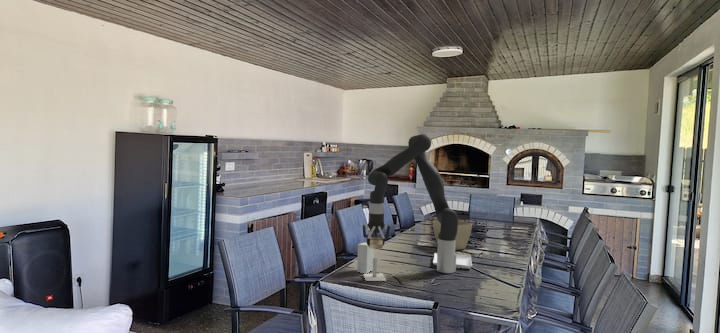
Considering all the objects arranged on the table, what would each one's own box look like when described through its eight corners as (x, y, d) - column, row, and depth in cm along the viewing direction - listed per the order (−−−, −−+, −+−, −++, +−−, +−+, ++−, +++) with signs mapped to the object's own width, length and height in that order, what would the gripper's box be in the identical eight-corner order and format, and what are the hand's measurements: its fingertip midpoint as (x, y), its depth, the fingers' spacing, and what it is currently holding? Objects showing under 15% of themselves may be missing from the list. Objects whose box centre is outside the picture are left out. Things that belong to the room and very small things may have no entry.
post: (382, 275, 220) (383, 256, 220) (386, 281, 210) (386, 261, 210) (363, 275, 219) (363, 256, 219) (365, 281, 209) (366, 261, 209)
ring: (380, 245, 217) (380, 237, 217) (382, 248, 211) (382, 240, 211) (368, 245, 217) (368, 237, 216) (370, 248, 211) (370, 240, 210)
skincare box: (366, 274, 221) (367, 245, 220) (356, 272, 224) (357, 244, 223) (374, 270, 228) (375, 242, 228) (364, 268, 231) (365, 241, 231)
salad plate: (472, 271, 233) (472, 265, 233) (432, 268, 237) (432, 261, 237) (470, 261, 254) (471, 255, 253) (434, 258, 258) (434, 252, 258)
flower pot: (430, 245, 289) (431, 220, 288) (454, 243, 297) (455, 219, 296) (448, 252, 271) (449, 225, 271) (472, 250, 279) (473, 224, 279)
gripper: (389, 211, 218) (388, 244, 219) (361, 210, 216) (360, 244, 217) (392, 213, 210) (391, 247, 211) (362, 213, 209) (361, 247, 209)
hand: (375, 245), depth 214 cm, fingers closed on ring, 6 cm apart
